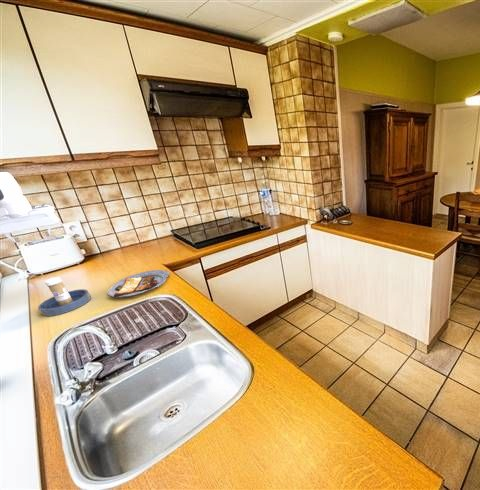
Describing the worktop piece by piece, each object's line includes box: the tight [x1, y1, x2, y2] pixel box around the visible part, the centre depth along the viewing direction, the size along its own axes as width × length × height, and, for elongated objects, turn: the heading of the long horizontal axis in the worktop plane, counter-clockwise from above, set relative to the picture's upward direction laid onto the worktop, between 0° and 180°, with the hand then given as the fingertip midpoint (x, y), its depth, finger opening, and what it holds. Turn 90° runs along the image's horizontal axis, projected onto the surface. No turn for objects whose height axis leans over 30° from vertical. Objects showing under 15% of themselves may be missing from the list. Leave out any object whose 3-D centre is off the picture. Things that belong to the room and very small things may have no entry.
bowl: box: [37, 288, 92, 317], centre depth 120 cm, size 16×16×4 cm
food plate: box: [106, 269, 171, 299], centre depth 132 cm, size 25×23×4 cm
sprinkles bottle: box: [44, 276, 73, 306], centre depth 117 cm, size 5×5×13 cm
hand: (33, 238), depth 118 cm, fingers open, 8 cm apart
